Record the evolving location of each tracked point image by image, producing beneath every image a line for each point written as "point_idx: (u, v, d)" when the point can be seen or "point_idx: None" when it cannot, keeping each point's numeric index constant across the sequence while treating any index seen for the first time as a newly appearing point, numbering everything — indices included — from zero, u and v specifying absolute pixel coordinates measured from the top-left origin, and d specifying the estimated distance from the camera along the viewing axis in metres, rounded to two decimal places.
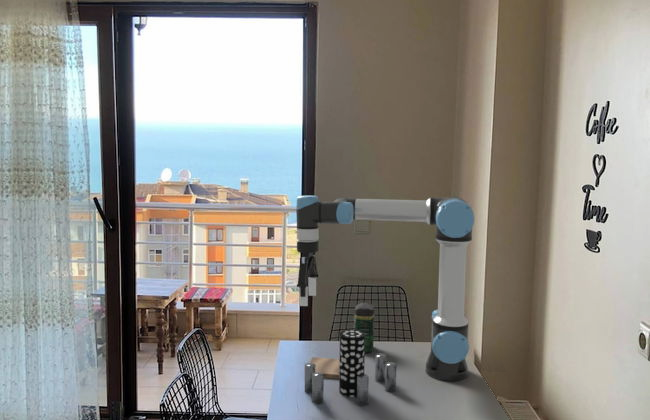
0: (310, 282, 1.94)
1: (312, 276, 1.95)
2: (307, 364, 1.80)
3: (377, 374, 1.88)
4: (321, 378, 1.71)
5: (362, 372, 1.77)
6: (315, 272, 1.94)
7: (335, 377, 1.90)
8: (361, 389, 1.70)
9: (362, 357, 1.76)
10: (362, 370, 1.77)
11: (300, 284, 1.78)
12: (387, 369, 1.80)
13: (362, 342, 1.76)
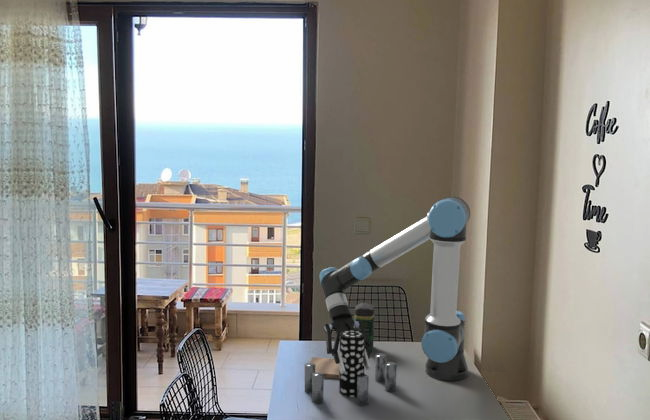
0: None
1: None
2: (307, 364, 1.80)
3: (377, 374, 1.88)
4: (321, 378, 1.71)
5: (362, 372, 1.77)
6: None
7: (335, 377, 1.90)
8: (361, 389, 1.70)
9: (362, 357, 1.76)
10: (362, 370, 1.77)
11: (327, 350, 1.78)
12: (387, 369, 1.80)
13: (362, 342, 1.76)
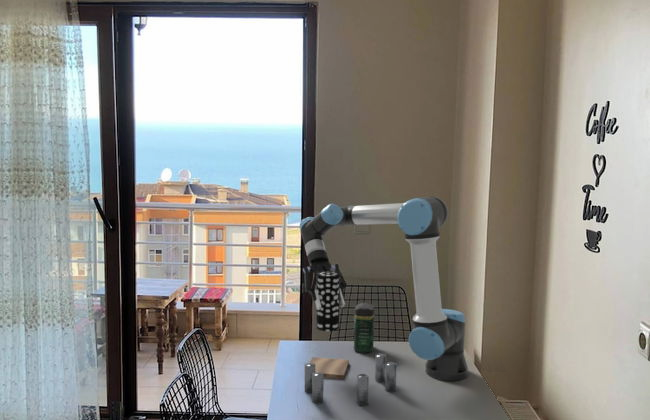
0: None
1: None
2: (307, 364, 1.80)
3: (377, 374, 1.88)
4: (321, 378, 1.71)
5: (337, 309, 1.93)
6: None
7: (335, 377, 1.90)
8: (361, 389, 1.70)
9: (337, 294, 1.92)
10: (337, 307, 1.93)
11: (305, 289, 1.94)
12: (387, 369, 1.80)
13: (337, 280, 1.91)
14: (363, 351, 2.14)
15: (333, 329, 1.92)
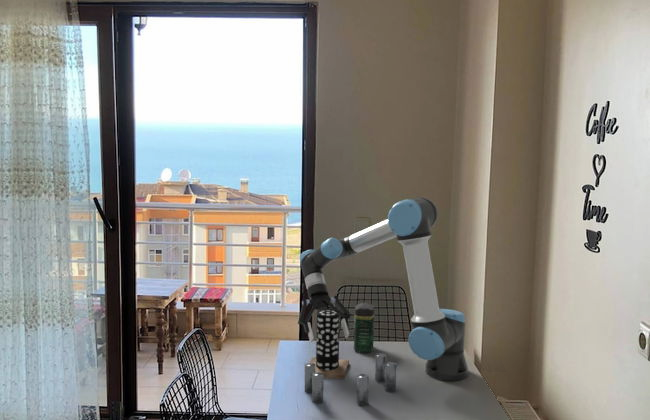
0: (342, 325, 2.00)
1: (343, 319, 2.01)
2: (307, 364, 1.80)
3: (377, 374, 1.88)
4: (321, 378, 1.71)
5: (337, 347, 1.95)
6: (342, 313, 2.01)
7: (335, 377, 1.90)
8: (361, 389, 1.70)
9: (336, 334, 1.94)
10: (337, 346, 1.94)
11: (298, 321, 1.96)
12: (387, 369, 1.80)
13: (336, 320, 1.93)
14: (363, 351, 2.14)
15: (333, 368, 1.94)
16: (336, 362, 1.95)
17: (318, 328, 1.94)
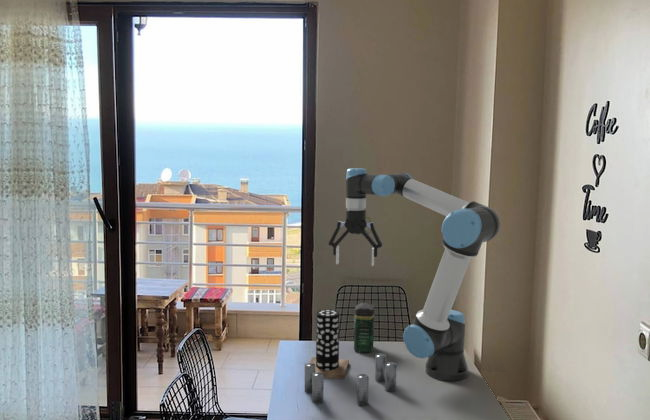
0: None
1: (374, 247, 2.04)
2: (307, 364, 1.80)
3: (377, 374, 1.88)
4: (321, 378, 1.71)
5: (336, 347, 1.95)
6: (373, 243, 2.03)
7: (335, 377, 1.90)
8: (361, 389, 1.70)
9: (336, 334, 1.94)
10: (336, 346, 1.94)
11: None
12: (387, 369, 1.80)
13: (336, 320, 1.93)
14: (363, 351, 2.14)
15: (333, 368, 1.94)
16: (336, 362, 1.95)
17: (318, 328, 1.94)
